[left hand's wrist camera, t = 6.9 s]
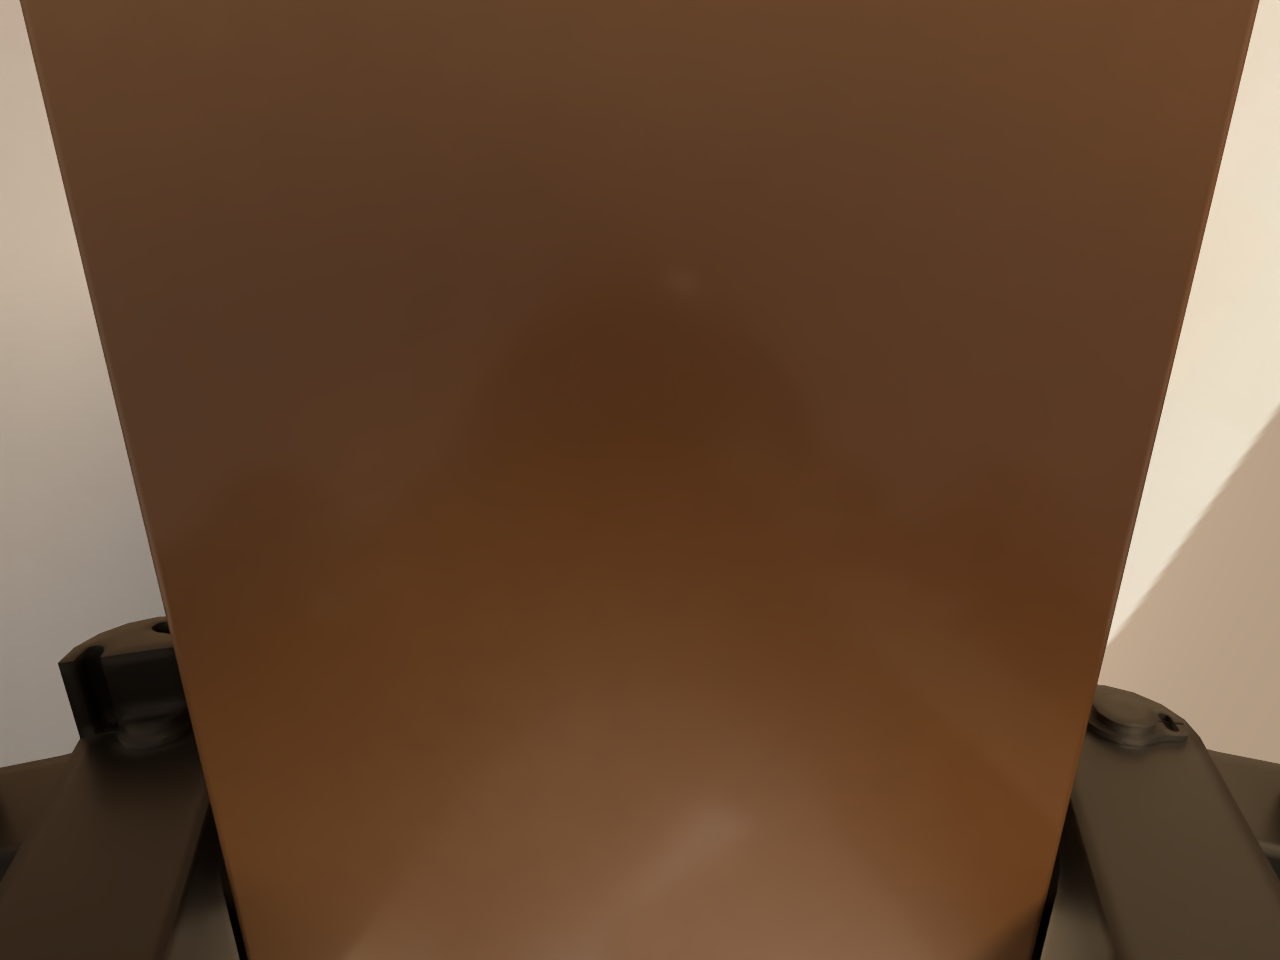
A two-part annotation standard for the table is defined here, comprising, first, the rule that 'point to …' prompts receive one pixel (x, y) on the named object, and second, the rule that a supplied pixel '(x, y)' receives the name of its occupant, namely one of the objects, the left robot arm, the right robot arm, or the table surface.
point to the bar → (639, 443)
